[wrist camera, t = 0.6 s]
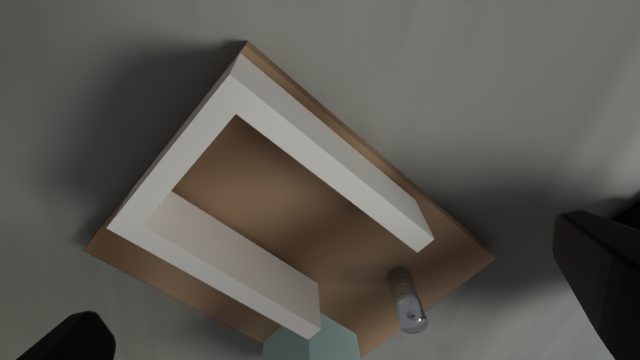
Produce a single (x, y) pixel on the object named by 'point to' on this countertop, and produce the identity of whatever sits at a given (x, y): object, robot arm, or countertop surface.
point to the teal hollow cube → (313, 344)
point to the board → (302, 230)
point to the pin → (406, 301)
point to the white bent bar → (226, 244)
